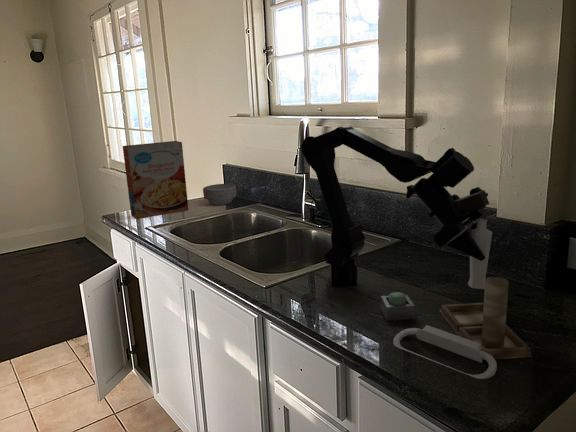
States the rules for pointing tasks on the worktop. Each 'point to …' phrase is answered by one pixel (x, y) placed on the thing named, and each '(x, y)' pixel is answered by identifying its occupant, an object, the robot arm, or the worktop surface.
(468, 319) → the divided wooden tray
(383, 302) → the button housing
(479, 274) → the perfume bottle
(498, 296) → the wooden billet
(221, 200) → the paper bowls
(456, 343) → the oval loop handle
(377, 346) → the worktop surface
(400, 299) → the button
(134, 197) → the pasta box
